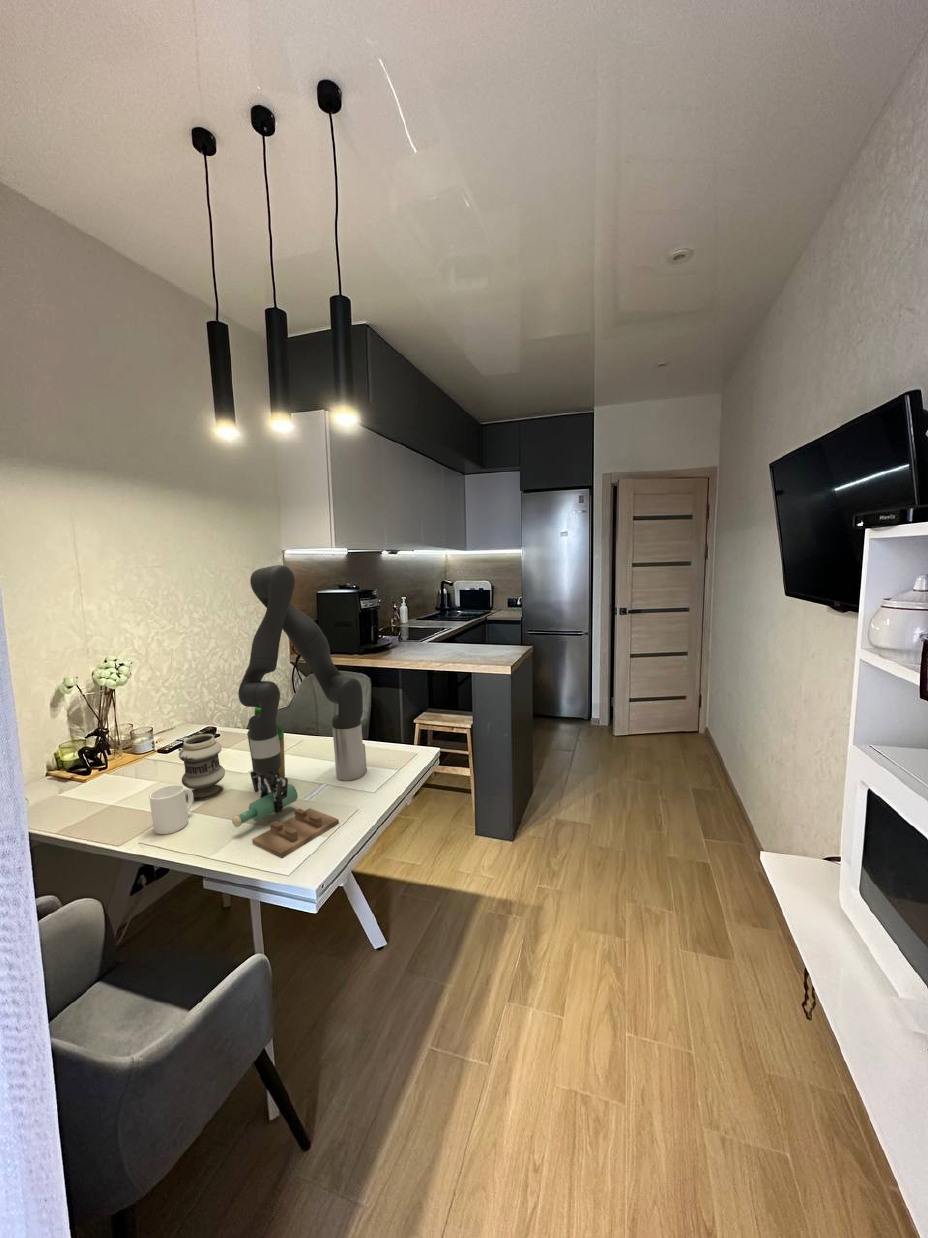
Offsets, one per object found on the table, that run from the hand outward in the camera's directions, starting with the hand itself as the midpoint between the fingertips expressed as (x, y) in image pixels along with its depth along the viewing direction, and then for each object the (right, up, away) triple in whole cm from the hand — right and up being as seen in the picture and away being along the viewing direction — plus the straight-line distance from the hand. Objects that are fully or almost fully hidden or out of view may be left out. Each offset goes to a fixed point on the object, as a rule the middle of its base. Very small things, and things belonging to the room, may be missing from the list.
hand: (272, 809), depth 139 cm
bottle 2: (-1, -1, -2) cm, 2 cm away
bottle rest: (+10, -3, -8) cm, 13 cm away
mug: (-26, -4, 0) cm, 27 cm away
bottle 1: (-8, -1, +19) cm, 21 cm away
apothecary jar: (-28, -2, +17) cm, 32 cm away
